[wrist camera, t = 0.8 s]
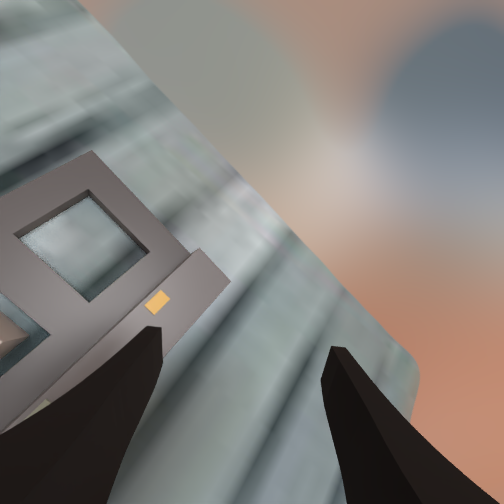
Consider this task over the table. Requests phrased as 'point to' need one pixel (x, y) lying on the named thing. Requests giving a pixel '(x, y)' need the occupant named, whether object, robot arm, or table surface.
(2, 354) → the plug
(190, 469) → the table surface
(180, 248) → the socket panel
